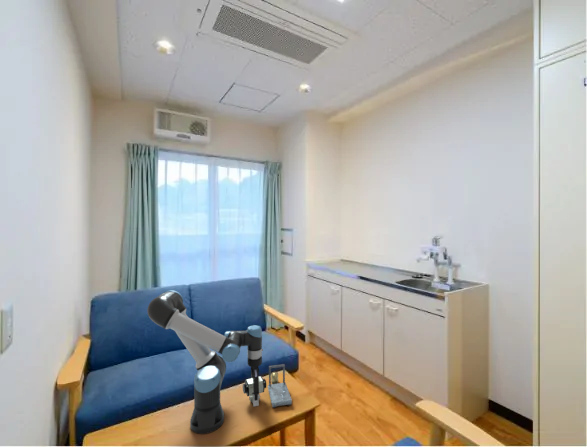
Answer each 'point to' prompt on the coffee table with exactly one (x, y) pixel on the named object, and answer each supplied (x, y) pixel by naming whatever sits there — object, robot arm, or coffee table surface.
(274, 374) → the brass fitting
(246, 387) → the pneumatic valve
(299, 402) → the coffee table surface
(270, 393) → the dolly
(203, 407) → the robot arm
